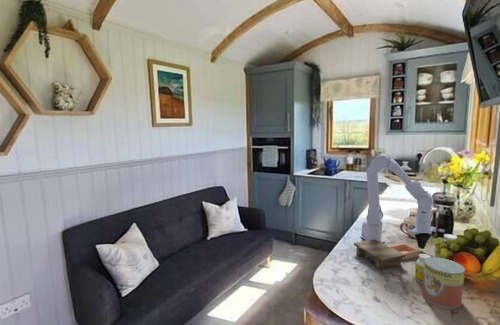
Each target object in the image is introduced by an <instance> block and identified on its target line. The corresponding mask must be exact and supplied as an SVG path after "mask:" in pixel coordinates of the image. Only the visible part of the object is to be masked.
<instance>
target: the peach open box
mask: <svg viewBox="0 0 500 325" xmlns="http://www.w3.org/2000/svg"><path fill="white" fill-rule="evenodd" d="M388 246H389V247H391V248H393V249H395V250H397V251H399V252H401V253H403V254H405V257H404V258H401V261H405V260H409V259H414V258H418V257H419V254H420V253H421V252H420V249H417V248H415V247H413V246H411V245H409V244H407V243H399V244H394V245H388Z"/></svg>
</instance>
